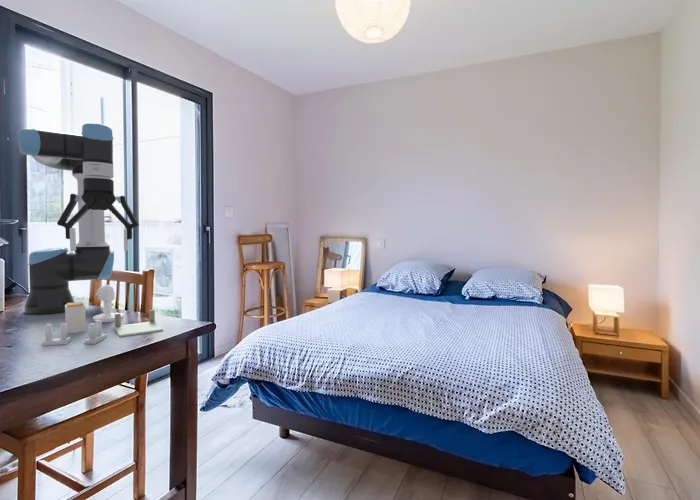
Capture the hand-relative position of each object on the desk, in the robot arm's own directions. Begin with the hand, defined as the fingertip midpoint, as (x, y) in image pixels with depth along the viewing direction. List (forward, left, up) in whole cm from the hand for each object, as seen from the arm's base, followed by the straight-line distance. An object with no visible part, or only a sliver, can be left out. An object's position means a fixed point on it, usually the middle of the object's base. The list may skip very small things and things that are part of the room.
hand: (100, 250), depth 117 cm
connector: (-10, -6, -26) cm, 28 cm away
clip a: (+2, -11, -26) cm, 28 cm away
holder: (-1, +10, -26) cm, 28 cm away
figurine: (-21, +4, -26) cm, 34 cm away
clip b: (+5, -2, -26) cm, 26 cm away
